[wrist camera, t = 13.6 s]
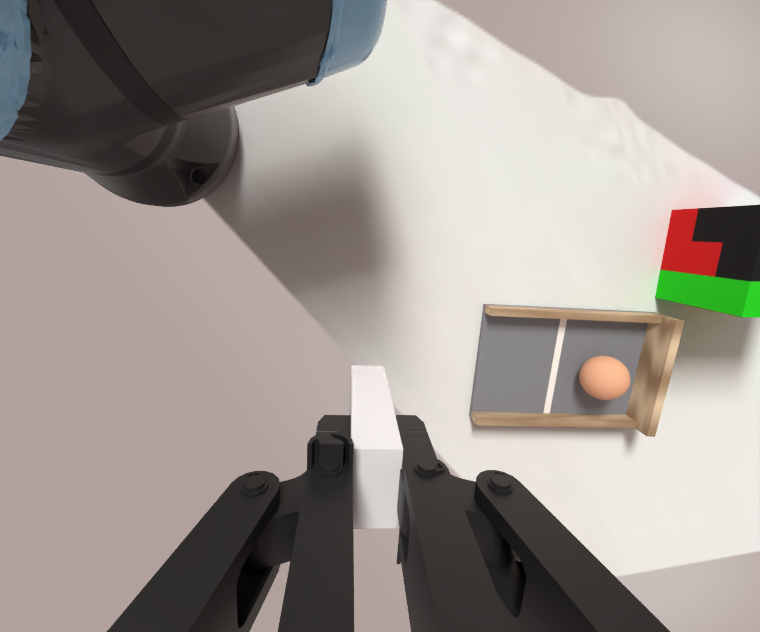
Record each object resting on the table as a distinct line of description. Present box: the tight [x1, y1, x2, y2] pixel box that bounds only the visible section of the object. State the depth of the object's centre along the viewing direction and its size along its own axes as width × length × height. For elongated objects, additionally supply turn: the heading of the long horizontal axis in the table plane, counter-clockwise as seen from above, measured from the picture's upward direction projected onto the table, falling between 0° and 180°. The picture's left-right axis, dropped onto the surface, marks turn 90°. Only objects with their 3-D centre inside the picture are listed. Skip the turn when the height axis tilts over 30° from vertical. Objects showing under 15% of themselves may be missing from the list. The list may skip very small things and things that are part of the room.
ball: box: [579, 356, 630, 400], centre depth 42 cm, size 5×5×5 cm
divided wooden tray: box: [471, 305, 685, 437], centre depth 42 cm, size 14×21×4 cm, turn 86°
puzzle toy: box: [655, 205, 760, 317], centre depth 38 cm, size 10×10×10 cm
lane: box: [469, 304, 655, 417], centre depth 44 cm, size 14×21×1 cm, turn 86°
